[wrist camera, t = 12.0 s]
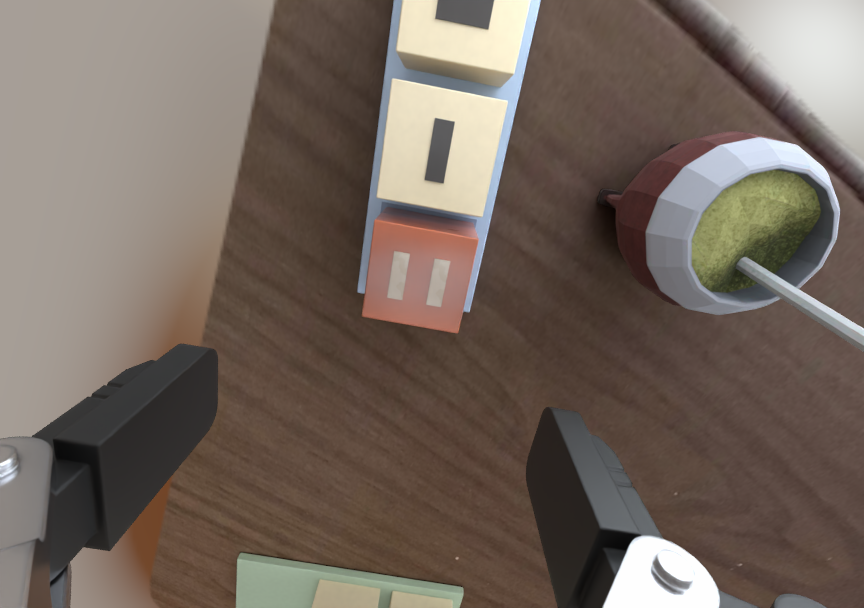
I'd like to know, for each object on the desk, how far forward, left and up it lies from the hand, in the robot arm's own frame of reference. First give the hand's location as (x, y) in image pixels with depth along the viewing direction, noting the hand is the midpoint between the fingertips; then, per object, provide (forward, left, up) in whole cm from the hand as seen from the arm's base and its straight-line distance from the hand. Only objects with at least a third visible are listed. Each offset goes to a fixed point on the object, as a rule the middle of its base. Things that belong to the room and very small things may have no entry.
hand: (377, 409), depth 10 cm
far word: (-1, -28, -14) cm, 31 cm away
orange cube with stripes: (0, 0, -14) cm, 14 cm away
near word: (0, +6, -14) cm, 15 cm away
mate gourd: (+12, +5, -14) cm, 20 cm away
